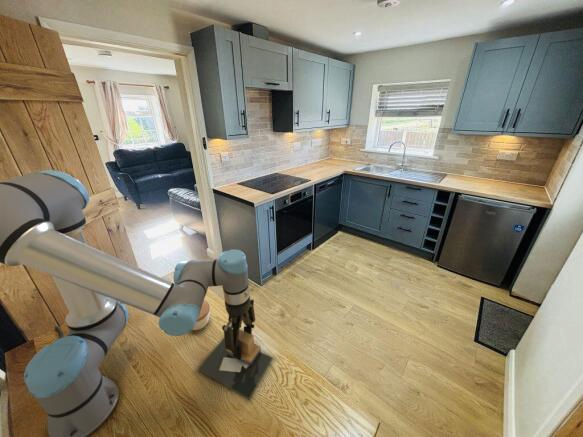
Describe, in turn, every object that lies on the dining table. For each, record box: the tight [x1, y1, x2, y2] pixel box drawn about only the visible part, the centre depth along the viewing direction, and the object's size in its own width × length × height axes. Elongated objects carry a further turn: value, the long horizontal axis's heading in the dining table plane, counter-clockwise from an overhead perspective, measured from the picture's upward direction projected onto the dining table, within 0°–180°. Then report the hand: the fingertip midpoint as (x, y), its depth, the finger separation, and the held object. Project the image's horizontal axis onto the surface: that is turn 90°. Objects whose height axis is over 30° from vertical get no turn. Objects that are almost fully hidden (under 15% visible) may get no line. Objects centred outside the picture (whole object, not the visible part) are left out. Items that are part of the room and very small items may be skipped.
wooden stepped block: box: [226, 329, 262, 366], centre depth 81 cm, size 10×6×8 cm, turn 65°
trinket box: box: [191, 300, 211, 331], centre depth 93 cm, size 11×11×9 cm
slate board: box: [197, 337, 273, 400], centre depth 79 cm, size 20×14×1 cm
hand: (243, 348), depth 82 cm, fingers closed on wooden stepped block, 6 cm apart
